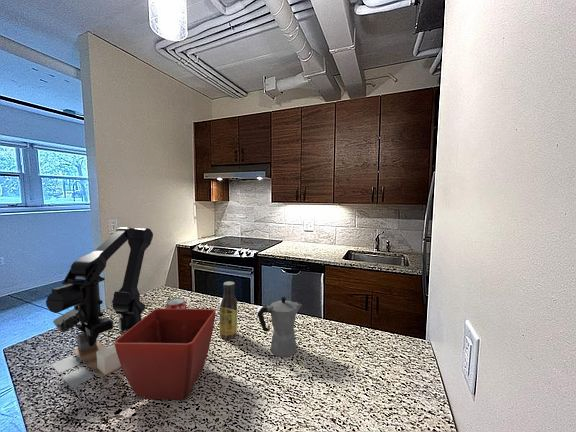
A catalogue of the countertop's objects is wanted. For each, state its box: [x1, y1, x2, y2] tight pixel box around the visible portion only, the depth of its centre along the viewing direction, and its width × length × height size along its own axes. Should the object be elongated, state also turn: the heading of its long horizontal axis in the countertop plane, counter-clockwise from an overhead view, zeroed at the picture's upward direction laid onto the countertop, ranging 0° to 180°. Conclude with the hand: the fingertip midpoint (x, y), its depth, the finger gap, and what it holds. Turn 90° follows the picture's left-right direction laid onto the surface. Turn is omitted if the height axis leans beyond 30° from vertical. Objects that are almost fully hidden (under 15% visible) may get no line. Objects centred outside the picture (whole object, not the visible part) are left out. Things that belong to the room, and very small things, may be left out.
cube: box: [96, 343, 122, 374], centre depth 76 cm, size 5×5×5 cm
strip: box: [72, 332, 122, 378], centre depth 80 cm, size 22×7×6 cm, turn 57°
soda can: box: [164, 297, 188, 309], centre depth 95 cm, size 7×7×13 cm
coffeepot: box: [256, 296, 303, 358], centre depth 85 cm, size 15×9×18 cm, turn 110°
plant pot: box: [113, 308, 216, 401], centre depth 71 cm, size 19×19×17 cm
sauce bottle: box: [219, 280, 238, 340], centre depth 94 cm, size 6×6×20 cm
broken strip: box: [50, 355, 95, 389], centre depth 74 cm, size 17×5×1 cm, turn 56°
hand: (91, 345), depth 83 cm, fingers closed
